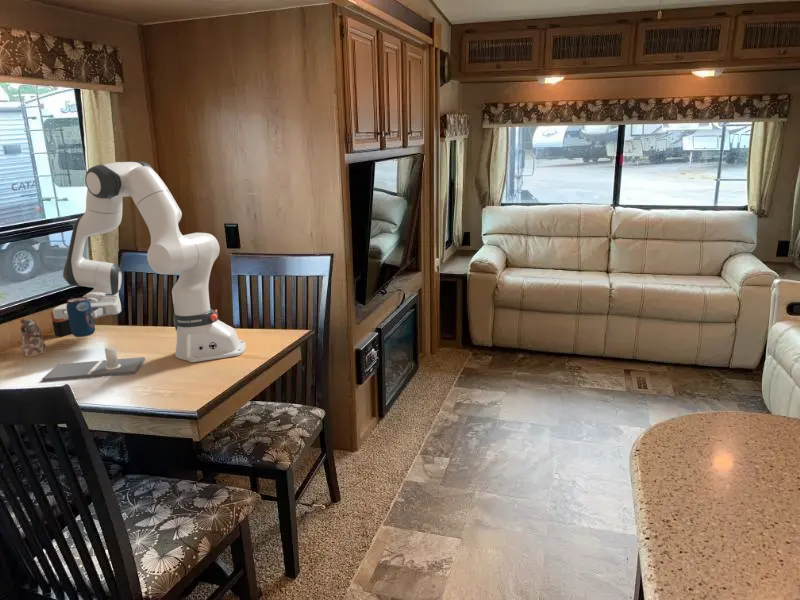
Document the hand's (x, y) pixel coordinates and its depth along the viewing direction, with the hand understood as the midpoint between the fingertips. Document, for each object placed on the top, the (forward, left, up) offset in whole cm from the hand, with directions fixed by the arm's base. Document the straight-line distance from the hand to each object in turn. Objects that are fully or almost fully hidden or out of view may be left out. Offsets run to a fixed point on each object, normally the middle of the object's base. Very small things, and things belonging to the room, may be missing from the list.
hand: (79, 315), depth 190 cm
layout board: (-7, +14, -14) cm, 21 cm away
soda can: (0, -1, -7) cm, 7 cm away
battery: (+17, -29, -14) cm, 36 cm away
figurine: (+20, -9, -14) cm, 26 cm away
